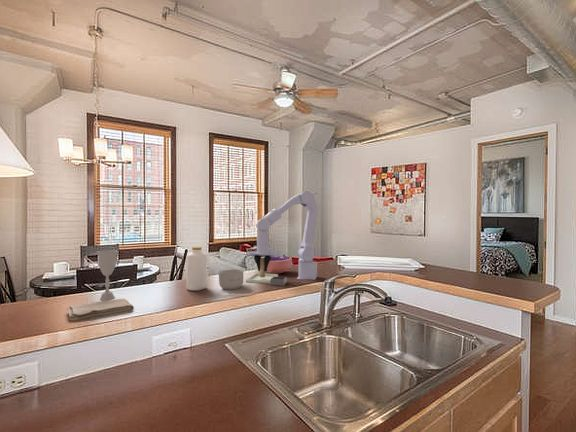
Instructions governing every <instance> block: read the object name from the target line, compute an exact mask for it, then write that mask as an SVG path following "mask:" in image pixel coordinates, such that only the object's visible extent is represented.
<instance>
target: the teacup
mask: <svg viewBox="0 0 576 432" xmlns="http://www.w3.org/2000/svg"><path fill="white" fill-rule="evenodd" d="M217 273H218V284H219V287H220V288H222V289H223V290H227V291H228V290H231V291H232V290H239V289H240V288H241V287H242V286H243V285H244V270H243V268H231V269H223V270H220V271H218V272H217Z"/></svg>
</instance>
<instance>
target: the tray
mask: <svg viewBox="0 0 576 432" xmlns="http://www.w3.org/2000/svg"><path fill="white" fill-rule="evenodd" d="M273 277H279V274H270V273H265V277H260V272H258V273H257V272H255V273H253V274H252V275H250V276H249V277H247V278H245V280H244V281H245V283H253V284H254V283H256V284H257V283H258V284H270V279H271V278H273Z"/></svg>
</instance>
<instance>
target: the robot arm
mask: <svg viewBox="0 0 576 432" xmlns="http://www.w3.org/2000/svg"><path fill="white" fill-rule="evenodd" d="M317 204H318V203H317V201H316V197H315V195H314V194H313V193H312V192H311V191H310V190H304V191H301V192H298V193H297V194H295V195H293V196H291V198H289V199H288V200H287V201H286V202H285V203H283V204H282V205H281V206H280V207H278V208H273V209H270V210H269V212H268V213H267V214H265V215H262V218H260V219H258V220H257V221H256V228H257V231H256V232H257V233H256V251H248V252H247V256H248V257H250V256H251V257H253V260H254V261H255V264H256V266H257V270H258V271H257V272H260V258H262V257H264V263H265V267H264V271H265V273H266V272H267V268H268V264H269V261H270V259H271V257H277V256H278V252H276V251H275V252H274V251H269V246H270V245H269V242H270V241H269V240H270V239H269V237H270V236H269V235H270V234H269V229H270V227H271V226H273V225H275V223H276V222H278V221H279V220H280V219H282V215H283V214H284V213H285V212H287V211H288V210H289V209H290V208H292V207H294V206H295V205H301V206H303V207H304V209H305V210H306V211H307V212H306V218H305V223H304V230H303V234H302V235H303V236H302V241H301V243H300V246H299V248H298V250H297V256H298V270H297V271H298V276H297V277H296V279H297V280H314V281H315V280H317V277H318V262H317V261H314V259H315V253H314V244H313V242H314V235H315V229H316V224H317V217H318V211H319V207H318V205H317Z"/></svg>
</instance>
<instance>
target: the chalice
mask: <svg viewBox="0 0 576 432" xmlns="http://www.w3.org/2000/svg"><path fill="white" fill-rule="evenodd" d="M117 253H118V250H116V249H113V250H112V249H108V250H99V251H96V254H97V258H98V260H97V261H98V262H97V263H98V264H97V265H98V268H99V270H100V272H101V273H102V275H103V276H105V280H104V281H105V285H104V287H105V291H104V292H102V293H101V295H100V297H99V300H100V301H106V300H114V299H115V298H116V297H115V296H114V292H113V291H111V290H110V289H109V288H110V286H111V284H110V281H111V280H110V278H109V277H110V276H111V275H112V274H113V272H114V270H115V269H116V265H117Z"/></svg>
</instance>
